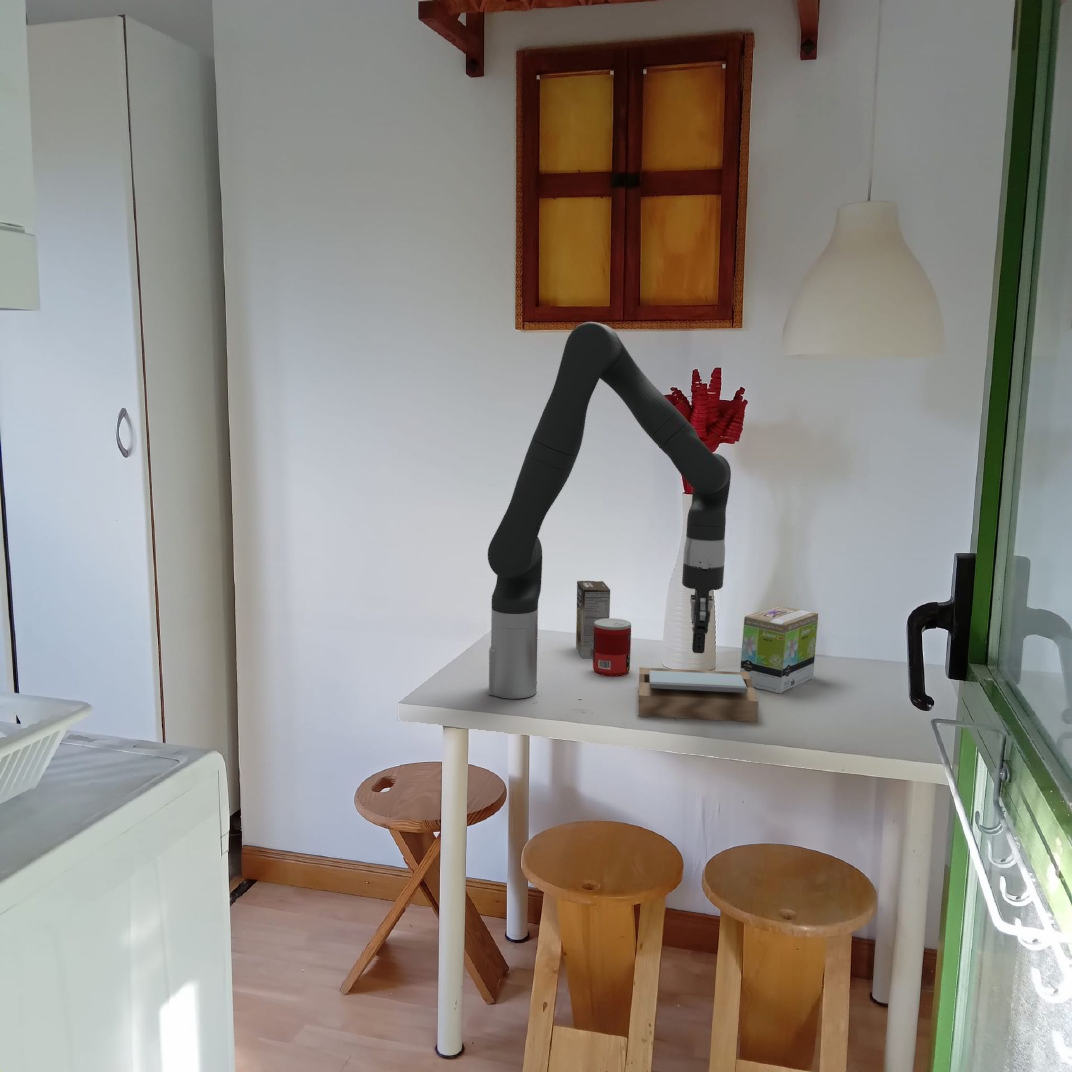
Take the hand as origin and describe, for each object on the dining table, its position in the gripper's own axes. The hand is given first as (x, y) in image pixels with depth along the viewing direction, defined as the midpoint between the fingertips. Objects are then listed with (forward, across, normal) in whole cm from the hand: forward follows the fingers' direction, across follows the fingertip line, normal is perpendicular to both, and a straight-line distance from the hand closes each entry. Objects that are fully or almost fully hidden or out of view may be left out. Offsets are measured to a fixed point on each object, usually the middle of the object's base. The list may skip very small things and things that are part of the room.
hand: (698, 652), depth 183 cm
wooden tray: (+12, -6, 0) cm, 14 cm away
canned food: (+13, -24, -17) cm, 32 cm away
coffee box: (+13, -38, -22) cm, 45 cm away
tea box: (+12, -23, +18) cm, 32 cm away
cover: (+7, -4, 0) cm, 8 cm away
